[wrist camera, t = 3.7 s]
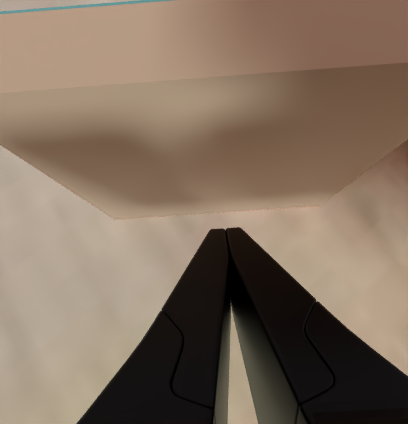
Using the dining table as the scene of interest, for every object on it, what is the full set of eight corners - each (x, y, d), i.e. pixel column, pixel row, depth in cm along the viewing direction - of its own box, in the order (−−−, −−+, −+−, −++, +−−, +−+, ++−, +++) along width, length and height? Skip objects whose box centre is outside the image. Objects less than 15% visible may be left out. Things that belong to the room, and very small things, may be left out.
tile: (319, 206, 18) (520, 54, 6) (114, 219, 18) (-71, 98, 6) (313, 169, 18) (488, -36, 7) (115, 183, 18) (-56, 8, 7)
